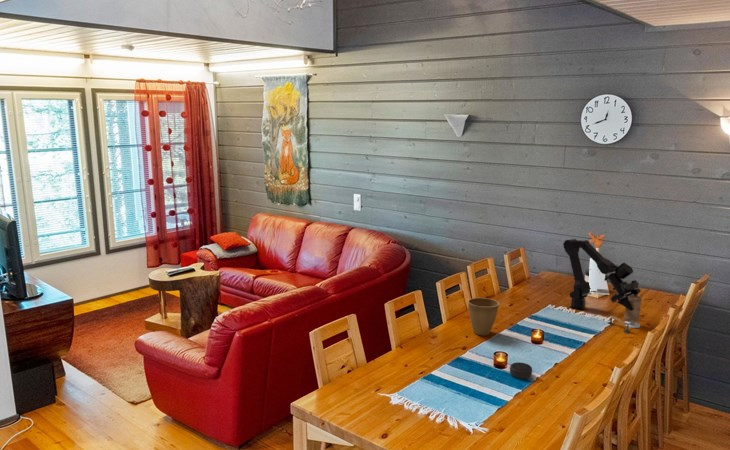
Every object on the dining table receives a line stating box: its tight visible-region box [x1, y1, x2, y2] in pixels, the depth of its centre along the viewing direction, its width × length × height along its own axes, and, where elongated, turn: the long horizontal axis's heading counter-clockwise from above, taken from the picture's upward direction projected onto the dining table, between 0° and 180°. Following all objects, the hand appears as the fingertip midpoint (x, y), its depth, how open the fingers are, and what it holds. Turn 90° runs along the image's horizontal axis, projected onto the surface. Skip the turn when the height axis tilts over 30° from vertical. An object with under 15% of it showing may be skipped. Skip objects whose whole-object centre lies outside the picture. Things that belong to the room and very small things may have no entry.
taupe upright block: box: [623, 295, 643, 323], centre depth 305 cm, size 5×5×13 cm
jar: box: [584, 269, 590, 282], centre depth 367 cm, size 9×8×12 cm
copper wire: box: [606, 315, 631, 334], centre depth 302 cm, size 14×3×4 cm, turn 17°
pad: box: [623, 321, 641, 329], centre depth 306 cm, size 8×8×1 cm
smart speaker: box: [509, 361, 533, 380], centre depth 246 cm, size 9×9×4 cm
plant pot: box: [467, 297, 500, 336], centre depth 292 cm, size 15×15×16 cm
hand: (635, 309), depth 303 cm, fingers closed on taupe upright block, 5 cm apart
